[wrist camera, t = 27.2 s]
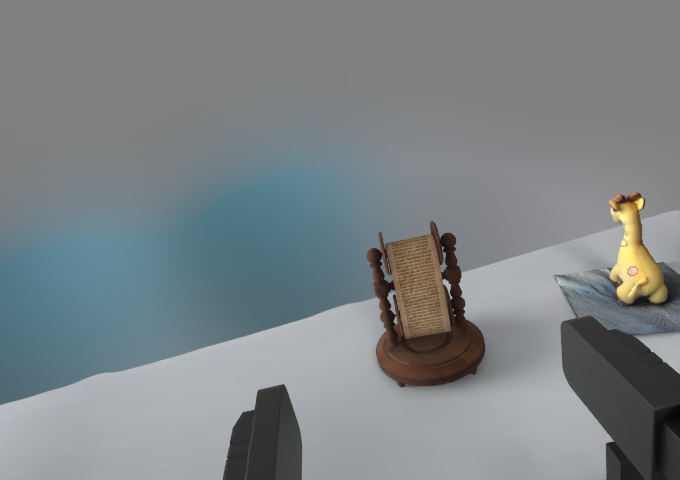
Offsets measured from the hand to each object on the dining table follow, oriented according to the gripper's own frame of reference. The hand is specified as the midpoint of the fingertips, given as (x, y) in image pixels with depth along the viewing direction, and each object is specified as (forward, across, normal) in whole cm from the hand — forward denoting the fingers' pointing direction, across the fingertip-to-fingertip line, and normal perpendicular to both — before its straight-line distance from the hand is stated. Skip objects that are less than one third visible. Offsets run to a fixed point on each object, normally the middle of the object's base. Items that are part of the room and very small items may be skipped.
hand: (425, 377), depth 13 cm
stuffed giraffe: (+45, -36, +33) cm, 67 cm away
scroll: (+42, -6, +33) cm, 54 cm away
